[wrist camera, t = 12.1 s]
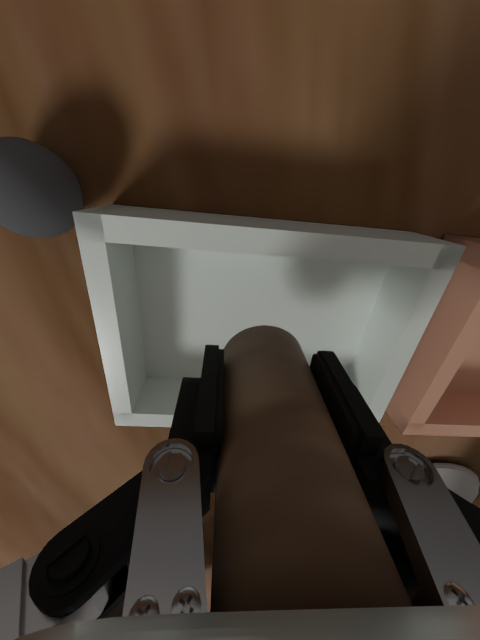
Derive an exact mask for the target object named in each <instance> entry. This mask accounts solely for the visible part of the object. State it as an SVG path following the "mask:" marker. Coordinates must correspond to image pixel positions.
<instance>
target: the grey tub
mask: <svg viewBox="0 0 480 640" xmlns="http://www.w3.org/2000/svg"><path fill="white" fill-rule="evenodd" d="M72 214H73V219H74V224H75V228H76V233H77V238H78V243H79V248H80V253H81V258H82V263H83V268H84V273H85V278H86V283H87V288H88V292H89V297H90V302H91V307H92V312H93V317H94V322H95V327H96V332H97V337H98V342H99V347H100V352H101V357H102V361H103V366H104V371H105V376H106V381H107V386H108V391H109V396H110V401H111V406H112V411H113V416H114V421H115V425H117V426H148V427H171V425H172V421H173V416H174V412H175V408H176V404H177V399H178V395H179V391H180V387H181V382H182V379H183V377H193V378H201V373H202V366H203V359H204V352H205V345H219V349H224V348H225V346H226V344H227V343H228V341H229V340H230V339H231V338H232V337H233V336H235V335H236V334H237V333H239V332H240V331H243V330H245V329H247V328H250V327H254V326H261V325H268V326H275V327H279V328H281V329H284V330H286V331H288V332H289V333H290V334H292V335H293V336H294V337H295V338H296V339H297V341H298V342H299V344H300V346H301V349H302V351H303V353H304V355H305V358H306V360H307V362H308V365H309V366H310V363H311V359H312V356H313V354H317V352H318V351H333V352H334V353H335V354H336V356H337V358H338V359H339V361H340V363H341V364H342V366H343V368H344V369H345V371H346V372H347V374H348V376H349V377H350V379H351V381H352V382H353V384H354V385H355V386H356V387H357V388H358V390H359V392H360V393H361V395H362V396H363V398H364V400H365V401H366V403H367V405H368V406H369V408H370V409H371V411H372V413H373V414H374V416H375V418H376V419H377V421H378V422H380V420H381V418H382V416H383V414H384V412H385V410H386V408H387V406H388V404H389V402H390V400H391V398H392V396H393V394H394V392H395V390H396V388H397V386H398V384H399V382H400V380H401V378H402V376H403V374H404V372H405V370H406V368H407V366H408V364H409V362H410V360H411V358H412V356H413V354H414V352H415V349H416V347H417V345H418V343H419V341H420V339H421V337H422V335H423V333H424V331H425V329H426V327H427V325H428V323H429V321H430V319H431V317H432V315H433V313H434V311H435V309H436V307H437V305H438V303H439V301H440V299H441V297H442V295H443V293H444V291H445V289H446V287H447V285H448V283H449V281H450V279H451V277H452V275H453V273H454V271H455V269H456V267H457V265H458V263H459V261H460V259H461V257H462V255H463V253H464V250H465V248H466V246H463V245H460V244H456V243H452V242H449V241H445V240H441V239H438V238H434V237H430V236H427V235H423V234H419V233H416V232H411V231H400V230H389V229H378V228H367V227H356V226H345V225H334V224H323V223H312V222H301V221H290V220H279V219H268V218H257V217H246V216H235V215H224V214H213V213H202V212H191V211H180V210H169V209H158V208H147V207H136V206H125V205H114V204H110V205H105V206H100V207H94V208H89V209H84V210H78V211H73V212H72Z"/></svg>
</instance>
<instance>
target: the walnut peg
mask: <svg viewBox="0 0 480 640" xmlns="http://www.w3.org/2000/svg"><path fill="white" fill-rule="evenodd" d="M379 607H413V606H412V603H411V601H410V599H409V596H408V594H407V592H406V589H405V587H404V585H403V582H402V580H401V578H400V576H399V573H398V571H397V569H396V566H395V564H394V562H393V559H392V557H391V555H390V552H389V550H388V548H387V545H386V543H385V541H384V538H383V536H382V534H381V532H380V529H379V527H378V525H377V522H376V520H375V518H374V515H373V513H372V511H371V508H370V506H369V504H368V501H367V499H366V497H365V494H364V492H363V490H362V487H361V485H360V483H359V481H358V478H357V476H356V474H355V471H354V469H353V467H352V464H351V462H350V460H349V457H348V455H347V453H346V450H345V448H344V446H343V443H342V441H341V439H340V437H339V434H338V432H337V430H336V427H335V425H334V423H333V420H332V418H331V416H330V413H329V411H328V409H327V406H326V404H325V402H324V399H323V397H322V395H321V393H320V390H319V388H318V386H317V383H316V381H315V379H314V376H313V374H312V372H311V369H310V367H309V365H308V362H307V360H306V358H305V355H304V353H303V351H302V349H301V346H300V344H299V342H298V341H297V339H296V338H295V337H294V336H293V335H292V334H290V333H289V332H288V331H286V330H284V329H281V328H279V327H275V326H268V325H261V326H254V327H250V328H247V329H245V330H243V331H240V332H239V333H237V334H236V335H235V336H233V337H232V338H231V339H230V340H229V341H228V343H227V344H226V346H225V348H224V379H223V417H222V439H221V451H220V456H219V458H218V461H217V470H216V493H215V516H214V540H213V563H212V586H211V609H210V612H239V611H270V610H303V609H340V608H379Z"/></svg>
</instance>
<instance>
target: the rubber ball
mask: <svg viewBox="0 0 480 640" xmlns="http://www.w3.org/2000/svg"><path fill="white" fill-rule="evenodd" d="M82 209H83V195H82V190H81V187H80V184H79V182H78V180H77V178H76V176H75V175H74V173H73V171H72V170H71V169H70V167H69V166H68V165H67V164H66V163H65V162H64V161H63V160H62V159H61V158H60V157H59V156H58V155H56V154H55V153H54V152H52V151H51V150H49V149H47V148H46V147H44V146H42V145H40V144H38V143H36V142H33V141H30V140H27V139H23V138H18V137H0V225H1V226H2V227H4V228H6V229H8V230H10V231H12V232H14V233H17V234H20V235H24V236H28V237H34V238H49V237H54V236H58V235H60V234H63V233H65V232H67V231H68V230H70V229H71V228H72V227H73V226H74V225H75V224H74V219H73V214H72V212H73V211H78V210H82Z"/></svg>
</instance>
